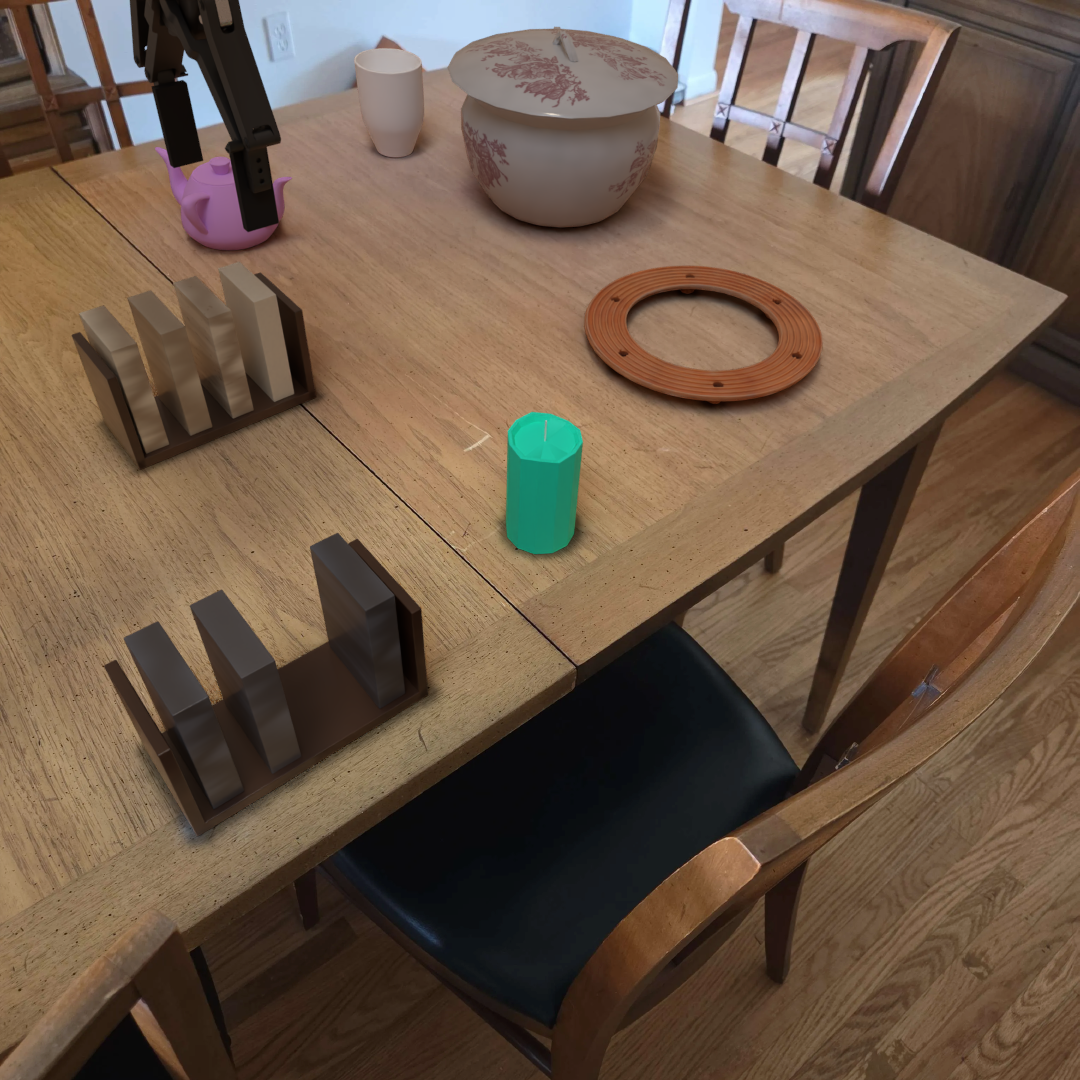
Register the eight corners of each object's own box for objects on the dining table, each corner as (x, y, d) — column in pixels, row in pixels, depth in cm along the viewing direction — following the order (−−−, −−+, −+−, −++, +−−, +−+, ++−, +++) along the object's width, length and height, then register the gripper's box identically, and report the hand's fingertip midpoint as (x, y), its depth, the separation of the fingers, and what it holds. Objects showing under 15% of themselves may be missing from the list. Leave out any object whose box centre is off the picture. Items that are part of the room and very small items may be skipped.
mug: (409, 168, 127) (403, 76, 118) (351, 156, 129) (341, 64, 120) (444, 136, 135) (441, 47, 126) (389, 124, 137) (383, 36, 128)
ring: (536, 324, 102) (537, 305, 100) (701, 259, 113) (704, 241, 112) (696, 448, 89) (700, 428, 87) (865, 361, 100) (872, 342, 98)
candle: (495, 513, 81) (496, 405, 73) (558, 498, 83) (567, 390, 74) (519, 561, 78) (523, 453, 69) (585, 545, 79) (597, 436, 71)
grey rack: (197, 837, 60) (148, 737, 51) (146, 750, 64) (93, 645, 55) (428, 694, 68) (420, 588, 59) (370, 626, 72) (354, 517, 64)
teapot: (172, 215, 115) (154, 144, 109) (284, 201, 119) (273, 131, 113) (183, 263, 108) (164, 189, 101) (303, 246, 112) (291, 174, 105)
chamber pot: (580, 280, 109) (595, 97, 94) (407, 206, 120) (396, 31, 105) (701, 197, 125) (730, 29, 110) (538, 138, 136) (544, -22, 121)
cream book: (274, 402, 89) (253, 302, 81) (240, 367, 93) (217, 268, 85) (294, 394, 90) (276, 294, 82) (260, 359, 94) (239, 261, 86)
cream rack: (139, 470, 83) (99, 359, 75) (105, 424, 88) (63, 314, 79) (316, 397, 92) (299, 290, 83) (277, 358, 96) (256, 252, 87)
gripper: (303, -77, 57) (339, 242, 72) (138, -154, 70) (198, 130, 85) (187, -62, 54) (251, 270, 69) (36, -146, 67) (118, 149, 82)
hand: (222, 193), depth 77 cm, fingers open, 13 cm apart
